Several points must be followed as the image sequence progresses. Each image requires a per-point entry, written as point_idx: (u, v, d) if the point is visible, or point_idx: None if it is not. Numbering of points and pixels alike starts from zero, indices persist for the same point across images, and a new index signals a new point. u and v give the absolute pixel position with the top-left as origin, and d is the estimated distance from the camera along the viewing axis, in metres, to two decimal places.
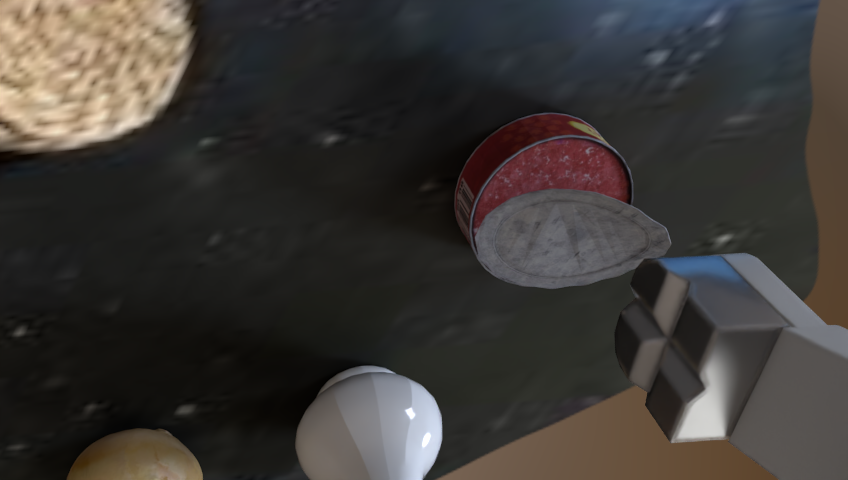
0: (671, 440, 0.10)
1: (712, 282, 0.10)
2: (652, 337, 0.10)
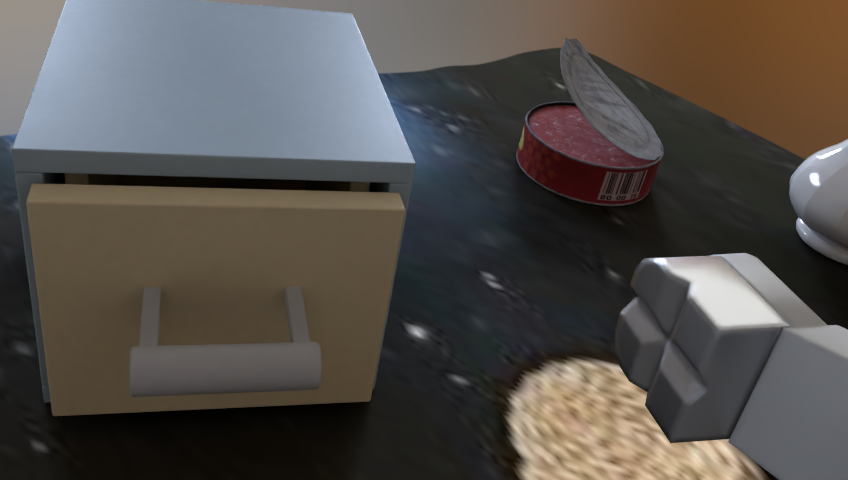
0: (671, 440, 0.10)
1: (712, 282, 0.10)
2: (653, 337, 0.10)
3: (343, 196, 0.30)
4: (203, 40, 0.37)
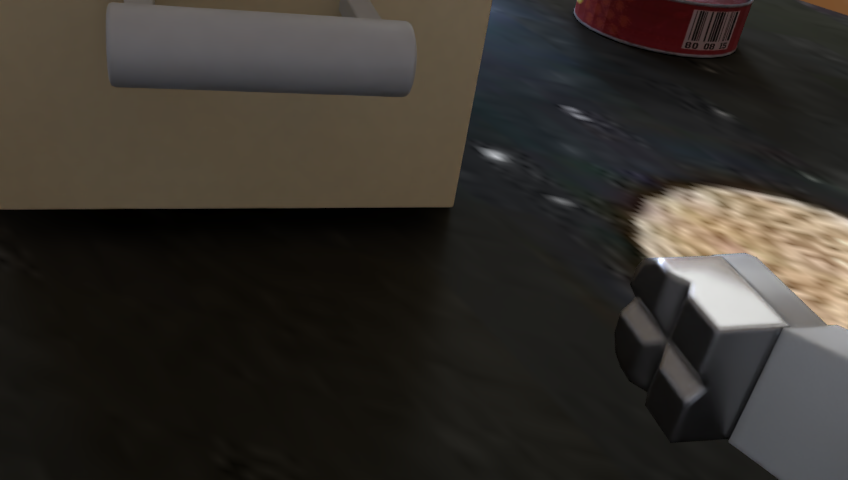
0: (671, 440, 0.10)
1: (712, 282, 0.10)
2: (652, 337, 0.10)
3: None
4: None
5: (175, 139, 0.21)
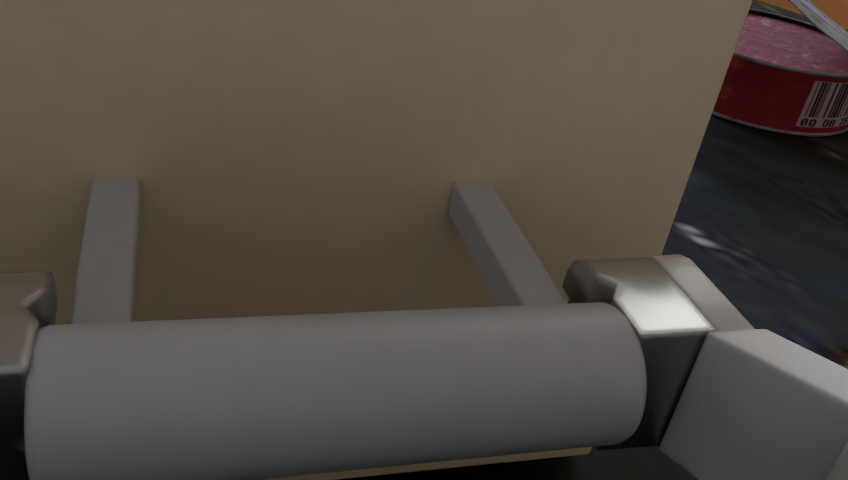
0: (598, 448, 0.10)
1: (640, 285, 0.09)
2: None
3: None
4: None
5: None
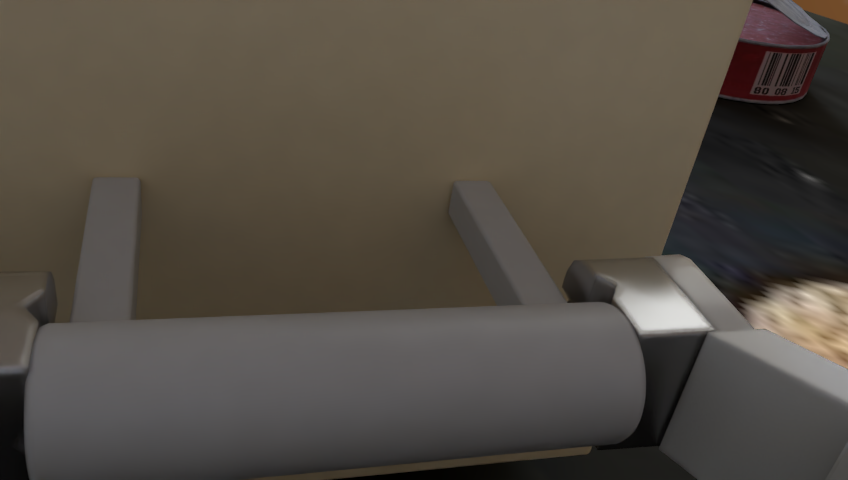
0: (598, 447, 0.10)
1: (640, 285, 0.09)
2: None
3: None
4: None
5: None
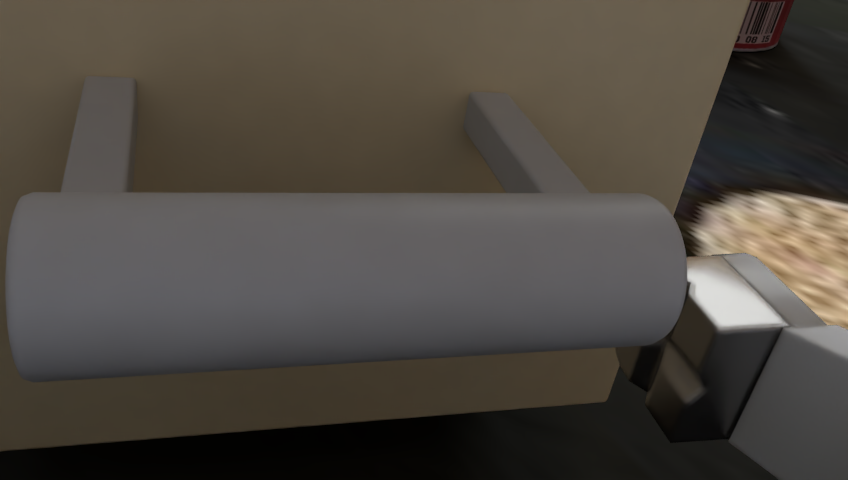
0: (671, 440, 0.10)
1: (712, 282, 0.10)
2: None
3: None
4: None
5: None
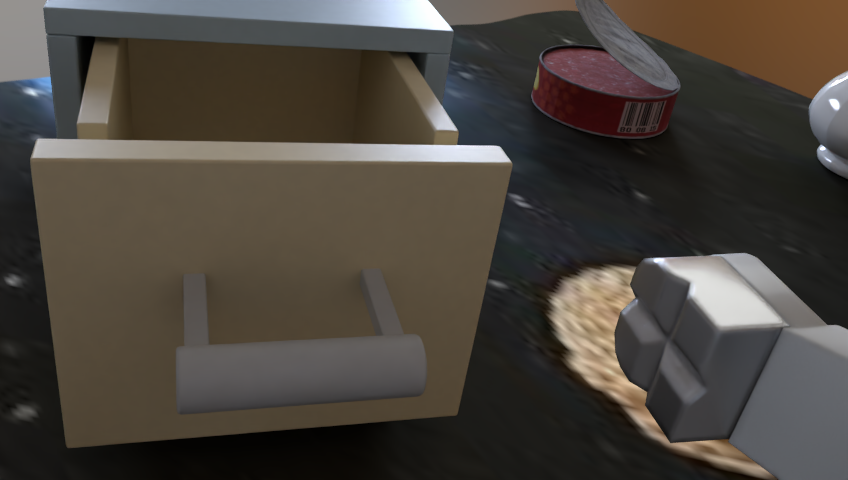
0: (671, 440, 0.10)
1: (712, 282, 0.10)
2: (652, 337, 0.10)
3: (433, 150, 0.23)
4: None
5: None
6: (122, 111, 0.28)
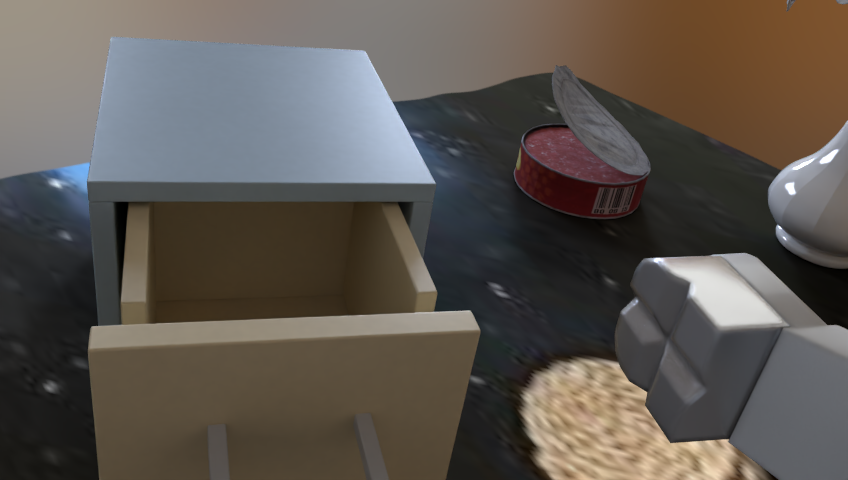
0: (671, 440, 0.10)
1: (712, 282, 0.10)
2: (652, 337, 0.10)
3: (414, 319, 0.28)
4: (236, 80, 0.41)
5: None
6: None
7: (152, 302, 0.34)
